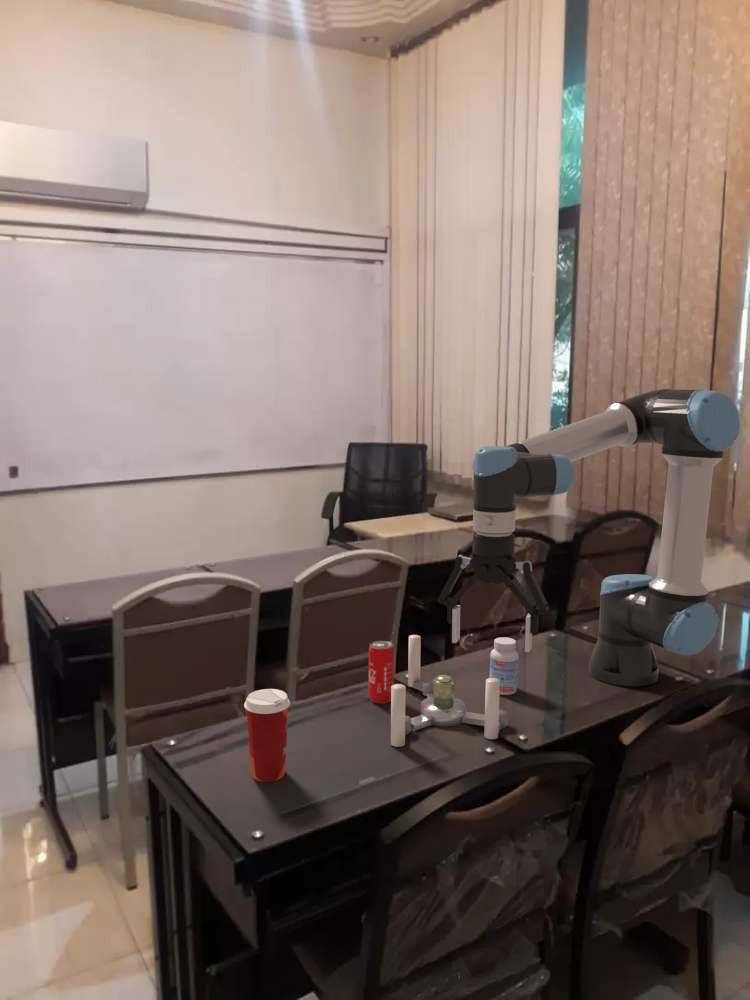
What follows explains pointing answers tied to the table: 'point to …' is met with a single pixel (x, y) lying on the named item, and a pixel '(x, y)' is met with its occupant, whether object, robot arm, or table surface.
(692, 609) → the robot arm
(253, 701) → the paper cup
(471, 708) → the table surface
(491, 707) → the knob
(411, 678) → the white lever handle
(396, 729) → the knob
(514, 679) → the pill bottle
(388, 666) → the beverage can
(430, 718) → the levelling base
